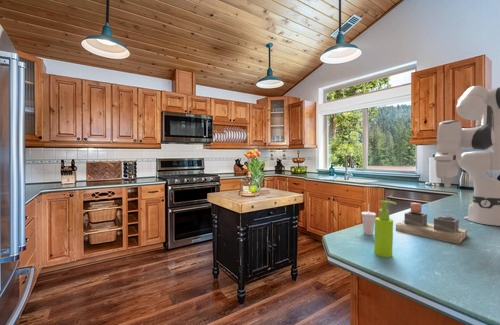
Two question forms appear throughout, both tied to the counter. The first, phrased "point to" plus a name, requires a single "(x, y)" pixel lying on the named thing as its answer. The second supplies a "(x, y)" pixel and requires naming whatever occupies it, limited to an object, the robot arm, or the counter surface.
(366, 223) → the smoothie
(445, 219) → the grey cube
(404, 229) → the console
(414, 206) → the terracotta button
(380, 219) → the soap dispenser
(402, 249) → the counter surface
